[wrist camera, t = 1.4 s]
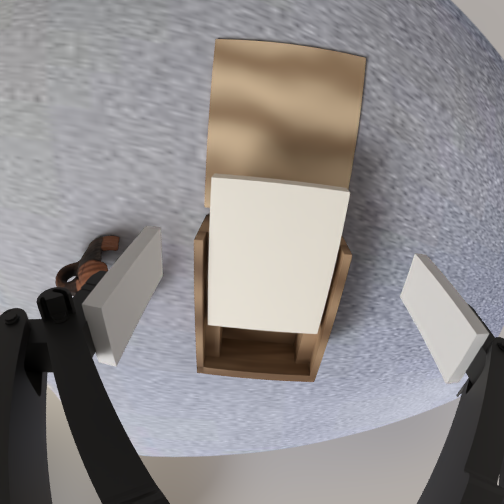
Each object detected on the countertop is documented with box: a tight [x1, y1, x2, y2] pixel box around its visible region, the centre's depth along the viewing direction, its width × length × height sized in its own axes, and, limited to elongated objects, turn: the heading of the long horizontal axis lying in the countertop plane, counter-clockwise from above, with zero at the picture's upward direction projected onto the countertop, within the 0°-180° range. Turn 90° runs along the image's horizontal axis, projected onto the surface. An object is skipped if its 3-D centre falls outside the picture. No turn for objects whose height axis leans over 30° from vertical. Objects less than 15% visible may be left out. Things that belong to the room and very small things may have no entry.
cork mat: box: [205, 39, 366, 208], centre depth 29 cm, size 18×15×1 cm
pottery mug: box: [55, 236, 119, 296], centre depth 36 cm, size 12×10×8 cm
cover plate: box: [208, 174, 350, 334], centre depth 30 cm, size 16×12×2 cm
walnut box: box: [194, 215, 352, 382], centre depth 35 cm, size 18×15×6 cm
